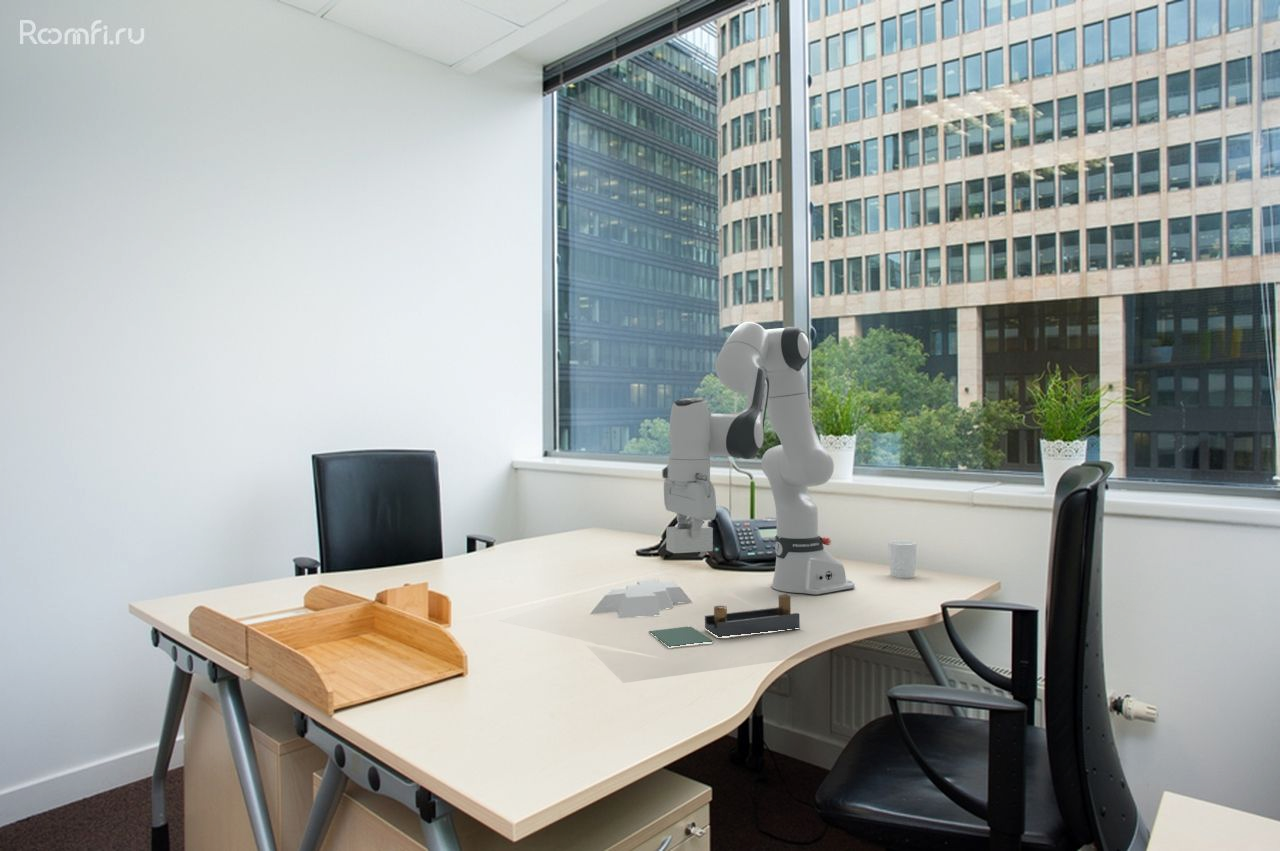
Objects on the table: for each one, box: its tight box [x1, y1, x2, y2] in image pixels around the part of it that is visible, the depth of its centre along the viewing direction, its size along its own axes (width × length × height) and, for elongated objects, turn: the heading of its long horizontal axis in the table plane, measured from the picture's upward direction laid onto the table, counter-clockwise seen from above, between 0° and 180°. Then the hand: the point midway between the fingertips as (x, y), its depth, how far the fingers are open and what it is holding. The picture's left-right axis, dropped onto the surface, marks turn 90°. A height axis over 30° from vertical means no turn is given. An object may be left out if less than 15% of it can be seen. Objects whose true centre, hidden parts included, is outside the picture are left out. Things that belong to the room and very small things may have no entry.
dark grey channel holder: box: [704, 594, 801, 637], centre depth 173 cm, size 20×7×7 cm, turn 110°
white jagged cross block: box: [589, 577, 693, 619], centre depth 195 cm, size 35×20×6 cm, turn 145°
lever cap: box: [665, 522, 714, 554], centre depth 167 cm, size 9×4×6 cm, turn 110°
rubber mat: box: [648, 626, 714, 647], centre depth 167 cm, size 10×12×1 cm
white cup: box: [887, 539, 917, 579], centre depth 227 cm, size 8×8×10 cm
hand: (689, 536), depth 167 cm, fingers closed on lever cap, 4 cm apart
